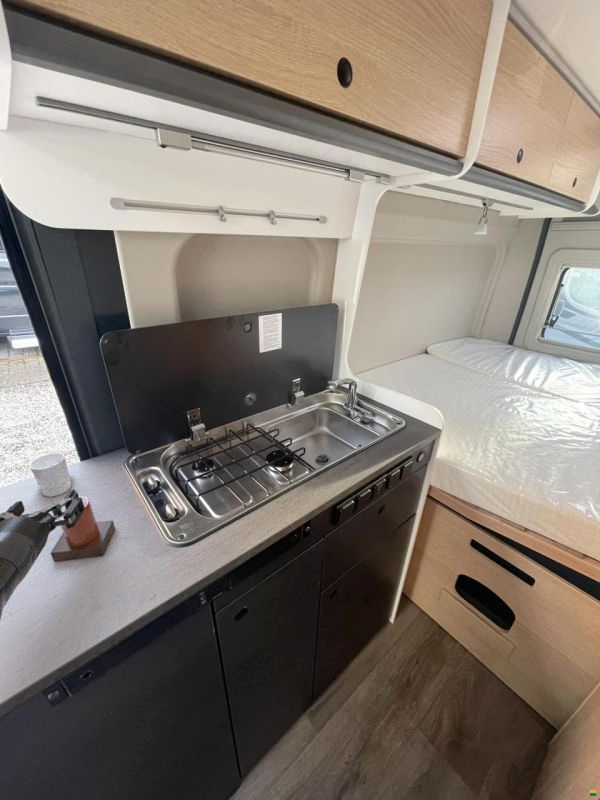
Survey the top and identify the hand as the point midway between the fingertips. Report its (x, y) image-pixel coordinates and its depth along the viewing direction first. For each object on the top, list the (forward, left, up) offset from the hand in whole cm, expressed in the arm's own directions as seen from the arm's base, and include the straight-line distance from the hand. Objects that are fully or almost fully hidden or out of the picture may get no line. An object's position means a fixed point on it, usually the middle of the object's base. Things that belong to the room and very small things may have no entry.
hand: (47, 499), depth 61 cm
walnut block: (-1, +7, -21) cm, 22 cm away
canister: (-1, +7, -17) cm, 18 cm away
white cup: (-18, +31, -21) cm, 41 cm away
